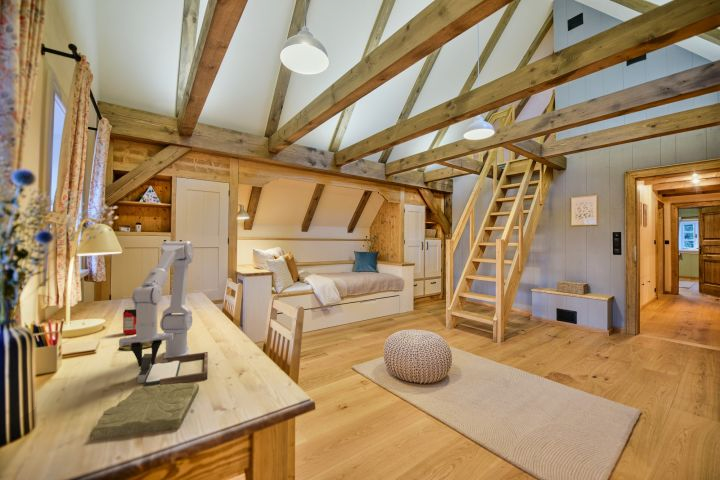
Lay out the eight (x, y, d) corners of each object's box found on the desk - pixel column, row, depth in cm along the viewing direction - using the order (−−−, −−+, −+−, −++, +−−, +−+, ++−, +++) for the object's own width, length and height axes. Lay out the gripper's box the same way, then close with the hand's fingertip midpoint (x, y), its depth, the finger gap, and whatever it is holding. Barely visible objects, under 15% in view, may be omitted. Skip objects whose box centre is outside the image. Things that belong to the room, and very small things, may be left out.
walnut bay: (167, 362, 115) (167, 357, 115) (207, 357, 121) (207, 351, 121) (159, 386, 96) (159, 380, 96) (207, 378, 102) (207, 372, 102)
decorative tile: (199, 391, 94) (199, 379, 94) (180, 430, 75) (180, 415, 75) (127, 399, 89) (127, 387, 89) (86, 443, 70) (86, 427, 70)
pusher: (143, 369, 108) (146, 349, 109) (152, 368, 110) (155, 349, 110) (136, 383, 98) (139, 362, 98) (145, 383, 99) (149, 361, 99)
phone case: (176, 383, 100) (181, 364, 114) (176, 378, 100) (181, 359, 114) (143, 388, 96) (152, 368, 111) (143, 383, 96) (152, 363, 111)
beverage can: (142, 332, 153) (142, 307, 154) (130, 335, 147) (130, 310, 147) (132, 331, 155) (132, 306, 155) (119, 334, 149) (119, 309, 149)
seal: (117, 356, 125) (162, 349, 133) (116, 345, 124) (162, 338, 132) (119, 347, 133) (161, 340, 141) (119, 336, 132) (161, 330, 140)
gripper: (116, 328, 97) (116, 373, 97) (171, 323, 103) (171, 365, 103) (122, 323, 103) (122, 365, 103) (173, 318, 109) (173, 358, 109)
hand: (146, 364), depth 103 cm, fingers closed on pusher, 3 cm apart
